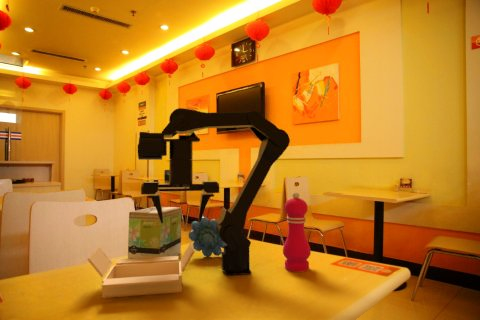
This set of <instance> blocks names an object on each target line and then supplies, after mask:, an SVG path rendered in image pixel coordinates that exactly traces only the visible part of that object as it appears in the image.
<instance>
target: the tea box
mask: <svg viewBox="0 0 480 320" xmlns="http://www.w3.org/2000/svg"><path fill="white" fill-rule="evenodd" d="M162 212H163V223H161V221H160V218H159V215H158V212H157V209H156V207H155V206H151V207H147V208H141V209H136V210H133V211H132V210H131V211H129V213H128V235H127V237H128V239H127V240H128V241H127V242H128V243H127V244H128V245H127V246H128V247H127V259H130V258H147V257H165V256H179V255H180V254H181V253H182V207H179V206H178V207H176V206H162ZM157 263H159V262H157ZM140 264H142V263H140Z"/></svg>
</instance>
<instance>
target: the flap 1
mask: <svg viewBox="0 0 480 320" xmlns="http://www.w3.org/2000/svg"><path fill="white" fill-rule="evenodd" d="M86 260H87V261H88V262H89V265H91V266H92V267H93V269H94V270H95V271H96V272H97V273H98V275H99V277H101V278H104V277H105V276H104V275H106V274H107V271H109V268H111V267H112V264H113V262H112V260H111V259H110V258H109V257H108V256H107V254H106V252H105V251H104V250H103V249H102V247H100V246H99V247H97V249H96V250H95V251H93V252H92V254H90V256H89V257H87V259H86Z"/></svg>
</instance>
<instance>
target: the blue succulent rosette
mask: <svg viewBox="0 0 480 320" xmlns="http://www.w3.org/2000/svg"><path fill="white" fill-rule="evenodd" d="M216 220H217V219H215V218H212V219H210V220H209V218H208V217H207V216H202V219H201V221H200V222H199V221H197V220H195V221H192V222H191V225H190V227H191V231H189V233H188V239H189V240H190V242H193V247H194V251H196V252H201V253H202V255H203V256H204V257H206V258H209V257H211V256H212V254H213V255H214V256H216V257H218V256H221V253H222V252H223V250H222V249H224V246H227V244H225V242H223V241H222V240H221V238H220V237H219V235H218V233H217V231H216V226H217V222H216Z"/></svg>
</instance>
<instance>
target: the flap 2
mask: <svg viewBox="0 0 480 320" xmlns="http://www.w3.org/2000/svg"><path fill="white" fill-rule="evenodd" d="M193 243H194V241H190V243H189V244H188V246H187V248H186V249H185V251H184V253H183V255H182V256H181V258H180V261H181V271H182V272H184V271H185V269H186V267H188V264H189V263H190V261H191V259H192V257H193V255H194V254H195V251H196V250H195V249H194V247H193Z"/></svg>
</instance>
